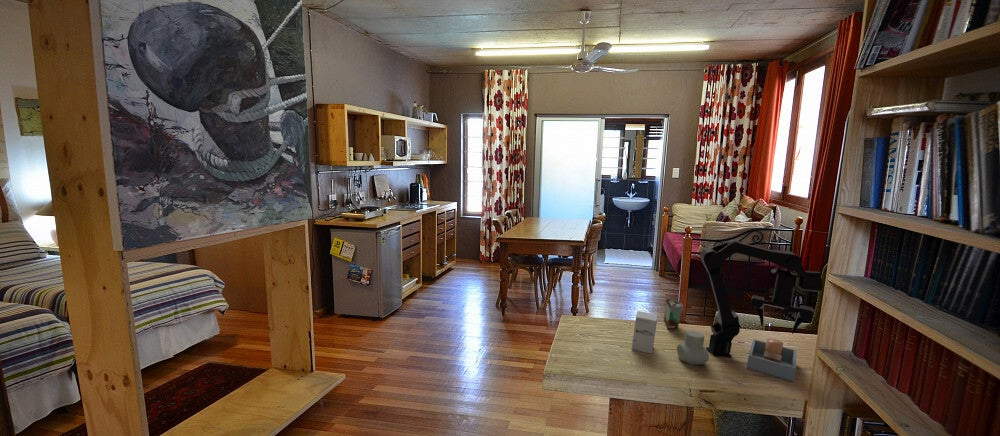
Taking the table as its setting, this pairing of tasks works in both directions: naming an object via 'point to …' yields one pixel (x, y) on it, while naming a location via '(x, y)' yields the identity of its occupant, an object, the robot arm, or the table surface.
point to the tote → (772, 362)
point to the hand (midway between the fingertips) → (777, 329)
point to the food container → (672, 313)
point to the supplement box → (644, 332)
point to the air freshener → (693, 349)
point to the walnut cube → (772, 357)
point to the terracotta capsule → (774, 346)
